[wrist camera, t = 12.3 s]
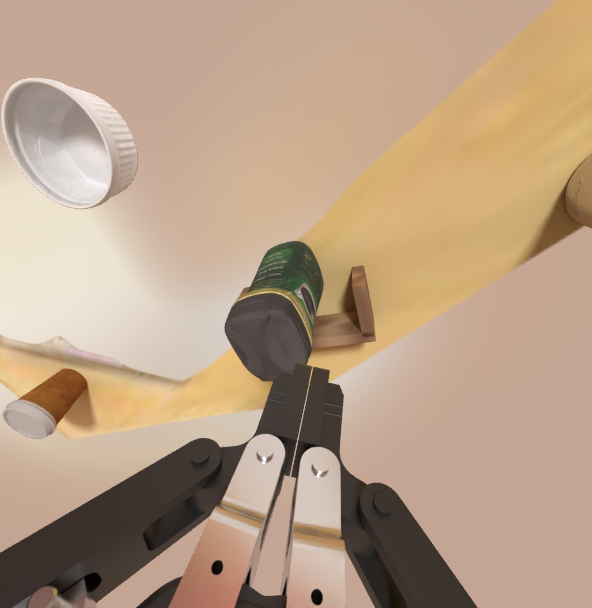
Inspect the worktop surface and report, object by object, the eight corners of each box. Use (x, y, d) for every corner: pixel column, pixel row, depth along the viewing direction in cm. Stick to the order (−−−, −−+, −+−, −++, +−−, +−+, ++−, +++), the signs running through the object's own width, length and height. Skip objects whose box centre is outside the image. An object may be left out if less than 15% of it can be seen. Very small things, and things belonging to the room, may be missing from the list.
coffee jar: (257, 249, 44) (204, 322, 29) (308, 233, 42) (280, 302, 26) (282, 304, 48) (248, 394, 33) (330, 292, 46) (317, 383, 30)
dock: (363, 265, 43) (364, 285, 38) (373, 317, 47) (375, 341, 42) (244, 288, 48) (231, 308, 43) (262, 332, 52) (252, 355, 47)
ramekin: (31, 102, 39) (-27, 99, 33) (113, 67, 35) (65, 57, 29) (90, 206, 45) (50, 219, 39) (165, 185, 42) (133, 196, 36)
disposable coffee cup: (88, 400, 71) (43, 446, 61) (49, 378, 69) (-3, 422, 59) (99, 379, 66) (53, 426, 56) (57, 355, 64) (2, 399, 54)
